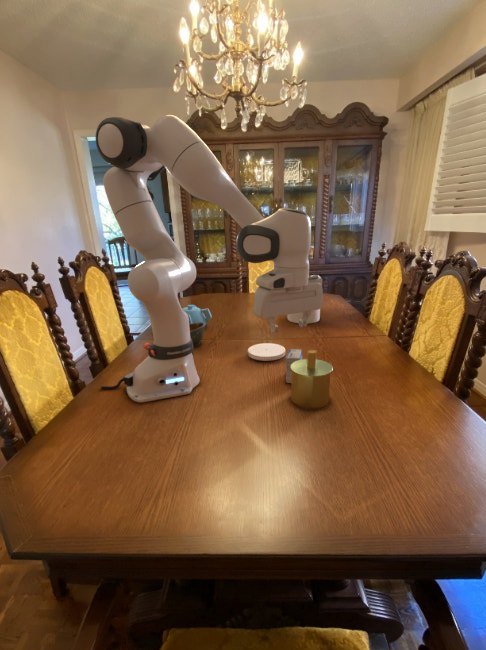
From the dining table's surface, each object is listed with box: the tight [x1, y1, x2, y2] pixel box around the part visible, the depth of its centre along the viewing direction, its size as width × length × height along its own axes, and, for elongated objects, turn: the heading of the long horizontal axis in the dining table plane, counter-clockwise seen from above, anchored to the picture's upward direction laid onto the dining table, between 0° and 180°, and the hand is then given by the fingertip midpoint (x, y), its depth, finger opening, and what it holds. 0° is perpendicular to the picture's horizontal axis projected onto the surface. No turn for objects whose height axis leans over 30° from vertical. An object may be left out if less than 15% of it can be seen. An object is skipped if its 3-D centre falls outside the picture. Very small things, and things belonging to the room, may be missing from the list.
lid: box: [291, 349, 334, 378], centre depth 94 cm, size 11×11×6 cm
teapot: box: [182, 304, 213, 327], centre depth 164 cm, size 15×15×11 cm
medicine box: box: [285, 348, 303, 384], centre depth 110 cm, size 8×4×9 cm, turn 168°
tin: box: [290, 372, 331, 410], centre depth 96 cm, size 10×10×10 cm
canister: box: [286, 309, 321, 324], centre depth 171 cm, size 16×16×20 cm
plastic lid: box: [247, 342, 286, 362], centre depth 130 cm, size 14×14×2 cm
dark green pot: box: [151, 323, 205, 349], centre depth 139 cm, size 13×20×10 cm, turn 99°
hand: (288, 329), depth 93 cm, fingers open, 8 cm apart
